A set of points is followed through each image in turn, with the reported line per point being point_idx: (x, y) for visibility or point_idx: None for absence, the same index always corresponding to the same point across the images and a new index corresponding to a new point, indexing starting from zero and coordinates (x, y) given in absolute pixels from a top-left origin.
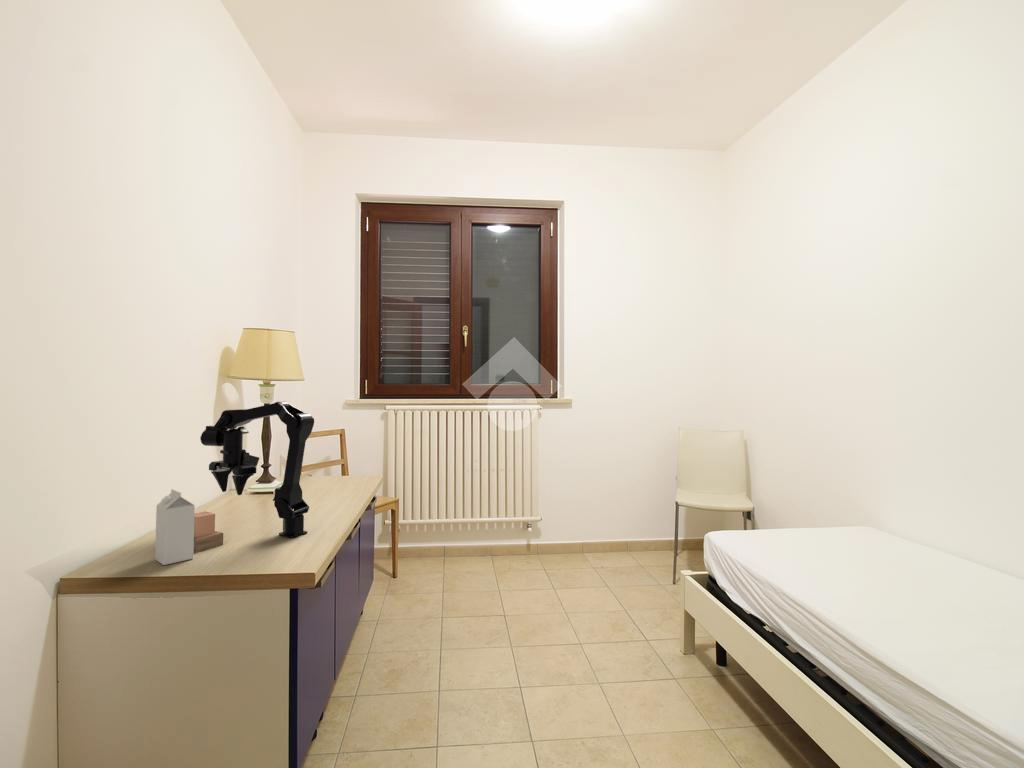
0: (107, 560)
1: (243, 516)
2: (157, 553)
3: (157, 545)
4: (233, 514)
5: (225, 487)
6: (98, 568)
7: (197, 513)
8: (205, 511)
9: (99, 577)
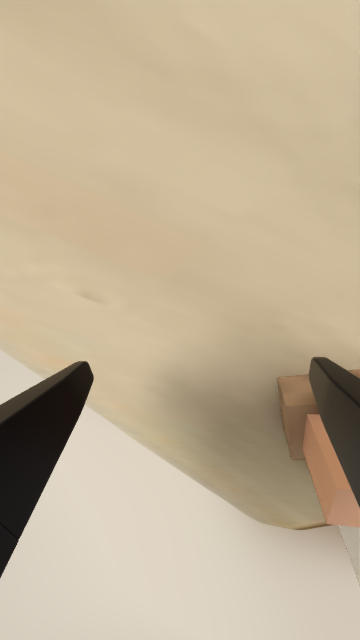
0: (242, 494)
1: (22, 140)
2: None
3: None
4: None
5: (70, 388)
6: (276, 510)
7: (339, 509)
8: (336, 489)
9: None
